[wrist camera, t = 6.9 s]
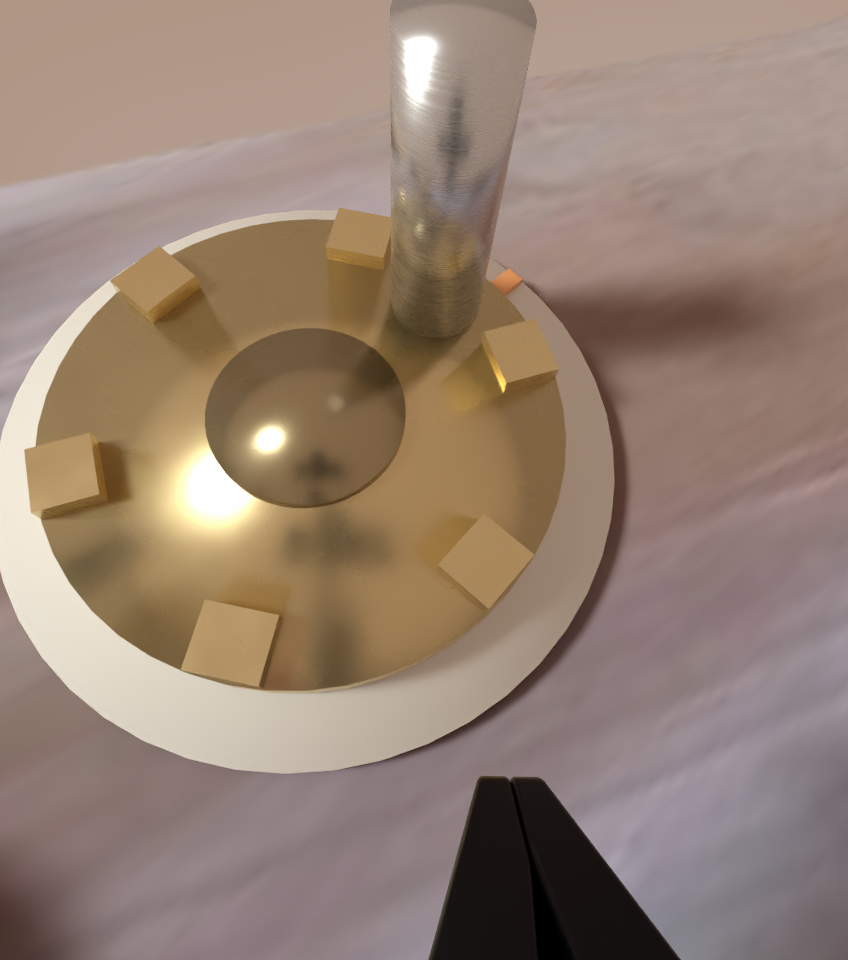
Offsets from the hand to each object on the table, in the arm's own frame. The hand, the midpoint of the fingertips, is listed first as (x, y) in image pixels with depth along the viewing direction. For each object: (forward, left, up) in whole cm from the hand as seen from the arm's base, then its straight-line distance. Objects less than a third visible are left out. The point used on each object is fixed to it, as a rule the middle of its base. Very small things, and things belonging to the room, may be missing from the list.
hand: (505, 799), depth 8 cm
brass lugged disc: (+11, -1, -10) cm, 15 cm away
